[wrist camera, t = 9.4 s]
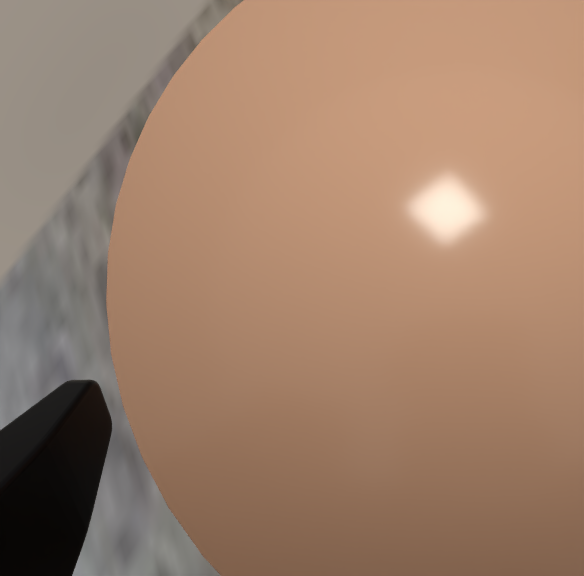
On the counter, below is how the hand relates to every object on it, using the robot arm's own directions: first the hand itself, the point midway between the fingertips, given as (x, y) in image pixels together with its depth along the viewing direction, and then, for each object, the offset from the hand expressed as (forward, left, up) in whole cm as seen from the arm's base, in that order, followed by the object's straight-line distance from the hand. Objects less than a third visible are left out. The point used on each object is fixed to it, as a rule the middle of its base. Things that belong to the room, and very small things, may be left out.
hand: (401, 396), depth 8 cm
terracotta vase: (+1, 0, -9) cm, 9 cm away
